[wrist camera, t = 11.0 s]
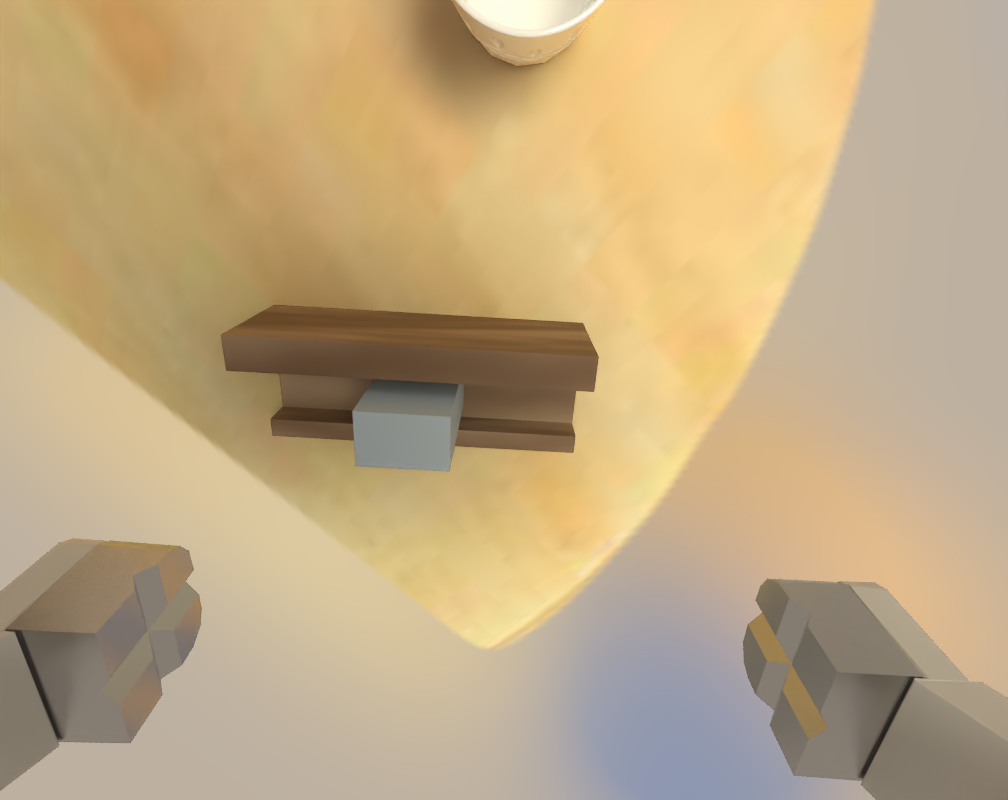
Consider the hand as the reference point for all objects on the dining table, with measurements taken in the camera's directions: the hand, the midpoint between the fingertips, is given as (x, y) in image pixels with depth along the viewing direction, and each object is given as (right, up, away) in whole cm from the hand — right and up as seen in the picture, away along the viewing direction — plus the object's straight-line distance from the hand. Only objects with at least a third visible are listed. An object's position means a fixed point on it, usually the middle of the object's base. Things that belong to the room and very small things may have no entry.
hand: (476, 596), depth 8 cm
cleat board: (-5, +4, +29) cm, 30 cm away
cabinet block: (-5, +4, +29) cm, 29 cm away
